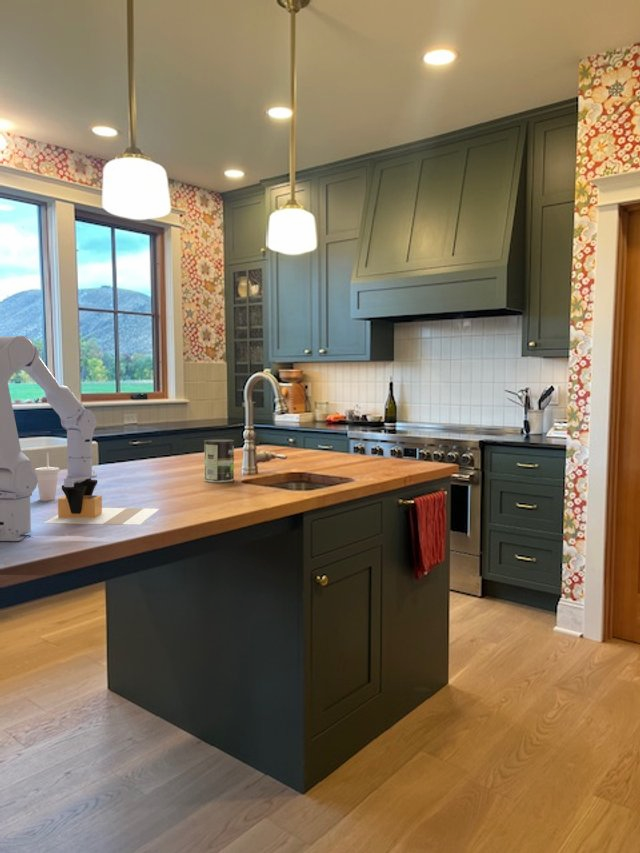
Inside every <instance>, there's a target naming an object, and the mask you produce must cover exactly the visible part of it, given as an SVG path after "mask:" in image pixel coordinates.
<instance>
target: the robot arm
mask: <svg viewBox="0 0 640 853" xmlns="http://www.w3.org/2000/svg"><path fill="white" fill-rule="evenodd" d="M38 348H39V347H37V346H36V345H34V343H33V341H32V340H31V339H30V338H29V337H27V336H25V335H16V336H15V335H14V336H11V335H10V336H0V542H20V541H22V540H24V539H26V538H28V537H29V536H30V534H25V533H28V532H29V533H30V532H31V531H32V527H31V526H32V522H31V521H32V518H31V514H32V513H31V496H32V495H33V492H35V490H36V488H37V487H38V483H37V482H38V478H37V474H36V472H35V469H34V468H33V467H32V463H31V462H32V461H31V459H29V457H27V456H26V454H25V453H24V452H23V451H22V449H21V443H20V438H19V434H18V428H17V423H16V418H15V412H14V407H13V403H12V398H11V393H10V387H9V380H11V378H12V377H13V375H15V373H17V372H19V371H24V372H25V373H26V374H27V375H28V376H29V377H30V378H31V379H32V380H33V381H34V382H35V383H36V384H37V385H38V386H39V387H40V388H41V389H42V391H44V392H45V393H46V402H47V403H48V404H49V406H50V407H51V408H52V409H53V410H54V412H55V413H56V414H57V415H58V416H59V419H60V424H61V426H62V428H63V429H65V430H66V443H67V444H66V447H67V448H66V449H67V450H66V451H67V452H66V453H67V454H66V455H67V458H66V460H67V462H66V463H67V465H66V466H67V468H66V469H67V474H66V477H65V478H64V480H63V483H64V484H62V485H61V490H62V491H63V493H64V496H65V495H66V497H67V500H68V503H69V507H70V510H71V513H72V514H80V513H81V510H82V501H83V496H84V495H93V494H94V491H95V489H96V486H97V484H98V479H95V478H97V477H98V474H96V473H95V470H94V469H93V437H94V431H95V429H96V427H97V424H98V419H96V415H95V413H94V412H93V411H92V410H90V409H87V408H85V407H84V404H83V403H82V401H81V402H80V401H79V399H78V398H77V396H75V394H74V393H73V392H74V390H73V389H72V388H71V387H68V386H66V385H63V384H62V385H61V384H60V383H59V382H58V381H57V379H56V378H55V376H54V375H53V374H52V373H51V371H50V370H49V368H48V367H47V365H46V364H45V362H44V361H43V360H42V359H41V357H40V352H39V351H40V350H39V349H38Z"/></svg>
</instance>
